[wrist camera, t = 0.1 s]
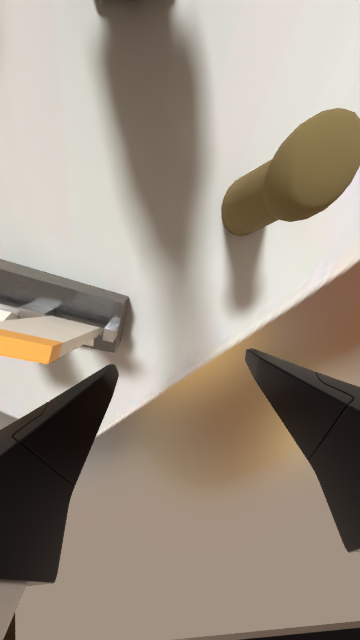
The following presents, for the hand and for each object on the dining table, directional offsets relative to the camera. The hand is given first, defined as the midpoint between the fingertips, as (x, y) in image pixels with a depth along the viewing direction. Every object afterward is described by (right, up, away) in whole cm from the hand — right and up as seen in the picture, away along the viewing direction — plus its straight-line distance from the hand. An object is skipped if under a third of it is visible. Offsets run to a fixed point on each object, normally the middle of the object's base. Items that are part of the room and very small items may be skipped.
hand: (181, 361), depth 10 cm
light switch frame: (-19, +5, +13) cm, 23 cm away
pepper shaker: (+8, +17, +8) cm, 21 cm away
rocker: (-14, +2, +10) cm, 17 cm away
